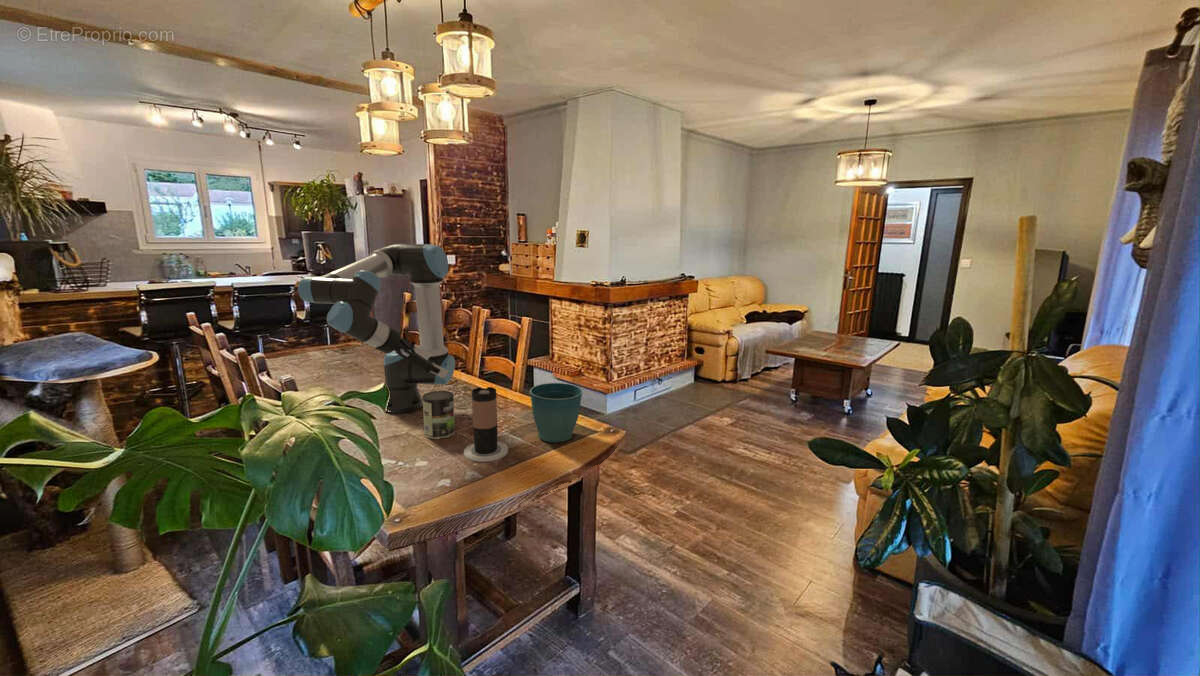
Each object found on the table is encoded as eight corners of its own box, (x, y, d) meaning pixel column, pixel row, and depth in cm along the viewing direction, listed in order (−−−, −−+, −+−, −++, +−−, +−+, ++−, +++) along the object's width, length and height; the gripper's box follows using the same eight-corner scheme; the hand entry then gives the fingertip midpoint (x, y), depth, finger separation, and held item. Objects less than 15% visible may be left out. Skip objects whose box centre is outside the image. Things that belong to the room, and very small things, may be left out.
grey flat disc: (461, 446, 157) (461, 443, 157) (503, 440, 163) (503, 438, 162) (466, 464, 145) (466, 462, 144) (512, 458, 150) (512, 455, 150)
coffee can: (460, 429, 171) (459, 391, 168) (445, 440, 161) (444, 401, 158) (434, 426, 173) (432, 389, 170) (418, 437, 163) (416, 398, 160)
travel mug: (485, 456, 148) (483, 396, 144) (468, 450, 152) (466, 391, 148) (503, 448, 155) (501, 389, 150) (486, 442, 159) (484, 385, 154)
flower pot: (553, 422, 180) (553, 379, 176) (591, 434, 170) (592, 389, 166) (519, 437, 165) (518, 391, 162) (558, 452, 155) (559, 403, 152)
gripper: (361, 332, 148) (415, 359, 164) (388, 365, 131) (446, 392, 147) (375, 312, 149) (428, 342, 164) (404, 342, 132) (460, 372, 147)
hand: (437, 365), depth 156 cm, fingers open, 13 cm apart
